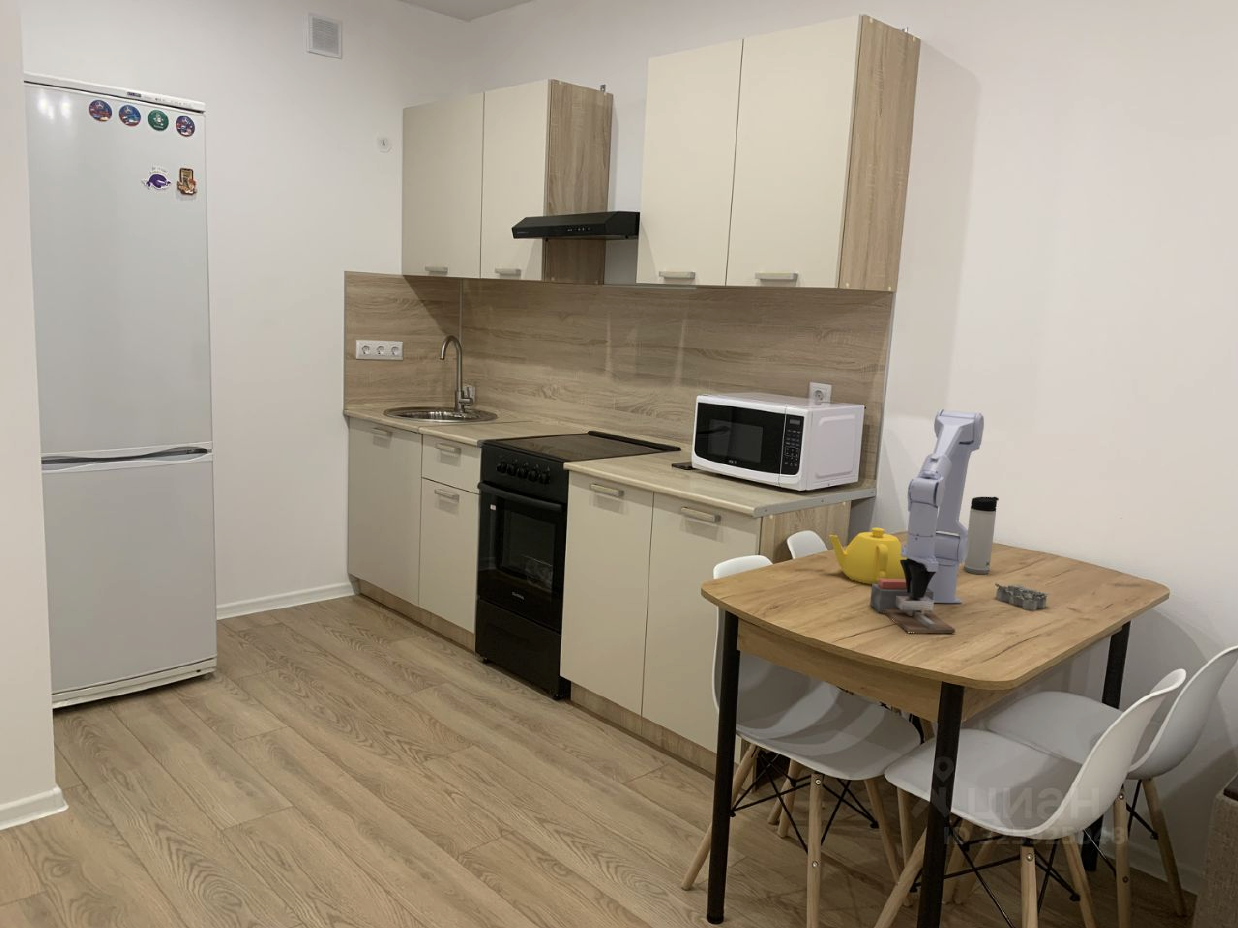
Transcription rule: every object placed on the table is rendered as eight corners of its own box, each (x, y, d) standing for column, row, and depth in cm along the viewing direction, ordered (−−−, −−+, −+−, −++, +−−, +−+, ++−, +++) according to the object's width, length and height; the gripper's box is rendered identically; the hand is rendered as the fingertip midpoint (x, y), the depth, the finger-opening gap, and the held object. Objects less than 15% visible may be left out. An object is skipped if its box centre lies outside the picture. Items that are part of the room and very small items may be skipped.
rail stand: (870, 605, 213) (872, 583, 212) (920, 605, 215) (923, 584, 214) (903, 633, 195) (906, 610, 194) (959, 634, 196) (961, 611, 195)
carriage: (894, 610, 206) (897, 578, 205) (925, 610, 206) (928, 578, 205) (901, 615, 202) (904, 582, 201) (932, 616, 203) (935, 583, 202)
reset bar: (878, 585, 211) (878, 578, 211) (920, 585, 213) (921, 579, 212) (882, 588, 209) (882, 581, 209) (925, 589, 210) (926, 582, 210)
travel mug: (994, 575, 245) (1002, 499, 242) (968, 573, 245) (976, 498, 242) (985, 568, 251) (993, 495, 248) (960, 567, 251) (968, 493, 248)
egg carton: (990, 599, 224) (992, 582, 224) (1012, 595, 228) (1014, 579, 227) (1028, 612, 215) (1030, 594, 214) (1050, 608, 218) (1052, 591, 218)
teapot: (900, 571, 244) (905, 523, 242) (916, 592, 226) (921, 540, 224) (822, 565, 246) (826, 518, 244) (831, 586, 227) (835, 534, 225)
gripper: (890, 525, 208) (884, 585, 210) (917, 541, 194) (911, 605, 196) (920, 526, 209) (914, 585, 211) (950, 542, 195) (943, 605, 197)
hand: (915, 595), depth 204 cm, fingers closed on carriage, 2 cm apart
